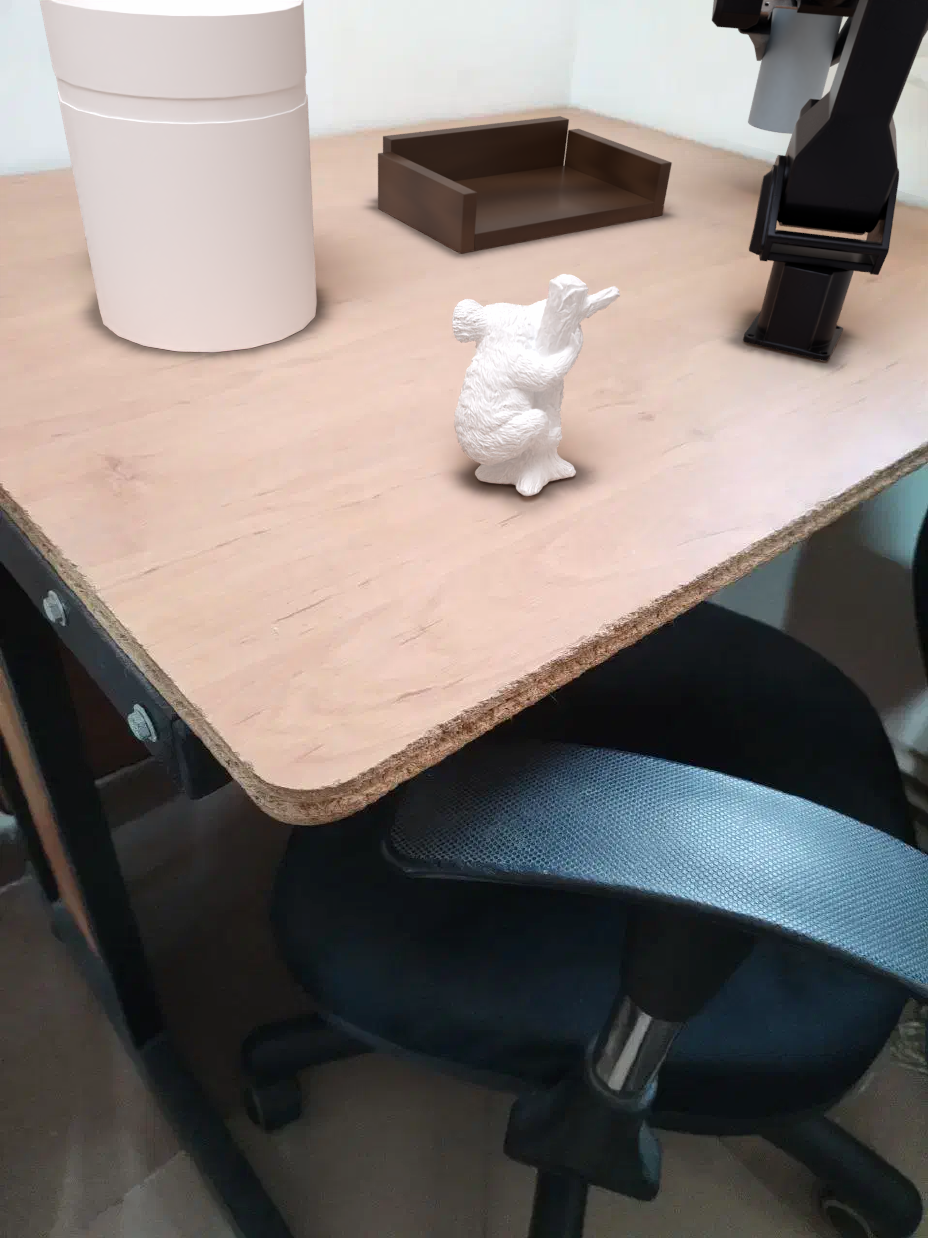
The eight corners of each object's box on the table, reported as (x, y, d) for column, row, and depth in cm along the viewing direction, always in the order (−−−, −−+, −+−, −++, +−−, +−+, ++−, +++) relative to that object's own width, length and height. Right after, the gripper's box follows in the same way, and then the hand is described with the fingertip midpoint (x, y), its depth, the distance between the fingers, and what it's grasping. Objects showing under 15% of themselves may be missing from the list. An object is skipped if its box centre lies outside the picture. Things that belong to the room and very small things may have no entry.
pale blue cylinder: (818, 136, 92) (854, 2, 86) (751, 130, 93) (782, -4, 86) (804, 117, 99) (836, -9, 92) (742, 111, 99) (769, -15, 92)
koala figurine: (596, 461, 58) (628, 261, 50) (579, 520, 53) (613, 308, 45) (460, 437, 59) (472, 240, 51) (432, 493, 54) (440, 283, 46)
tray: (662, 215, 96) (674, 150, 92) (460, 253, 84) (464, 181, 80) (563, 174, 106) (570, 114, 102) (369, 203, 94) (369, 137, 90)
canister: (352, 329, 71) (346, 12, 58) (135, 368, 64) (74, 19, 51) (269, 258, 81) (248, -25, 68) (75, 285, 74) (11, -24, 61)
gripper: (977, -156, 77) (897, -10, 93) (745, -173, 78) (705, -26, 94) (967, -29, 76) (889, 97, 92) (733, -48, 77) (694, 80, 93)
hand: (794, 59), depth 93 cm, fingers closed on pale blue cylinder, 6 cm apart
